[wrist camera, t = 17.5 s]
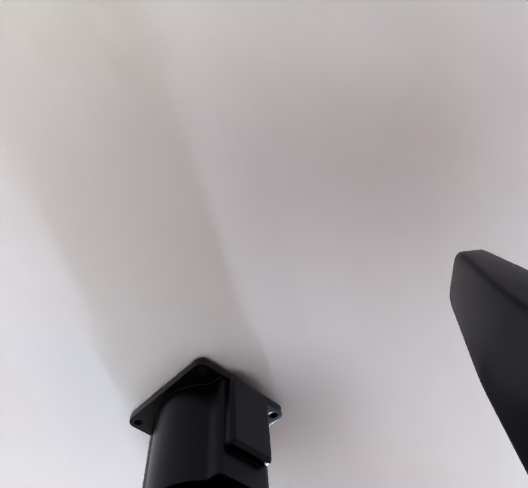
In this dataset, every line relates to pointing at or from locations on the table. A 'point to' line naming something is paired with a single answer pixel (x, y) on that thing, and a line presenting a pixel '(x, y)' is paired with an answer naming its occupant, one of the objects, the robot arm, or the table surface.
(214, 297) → the table surface
